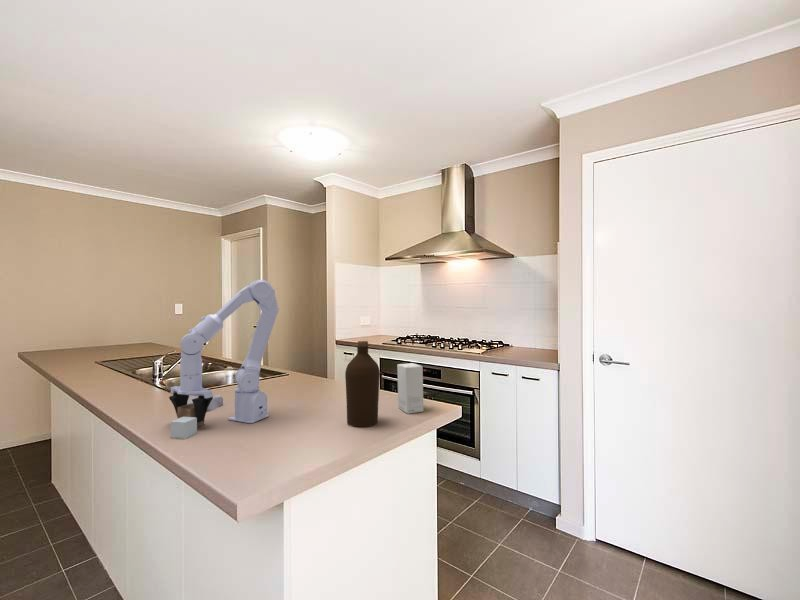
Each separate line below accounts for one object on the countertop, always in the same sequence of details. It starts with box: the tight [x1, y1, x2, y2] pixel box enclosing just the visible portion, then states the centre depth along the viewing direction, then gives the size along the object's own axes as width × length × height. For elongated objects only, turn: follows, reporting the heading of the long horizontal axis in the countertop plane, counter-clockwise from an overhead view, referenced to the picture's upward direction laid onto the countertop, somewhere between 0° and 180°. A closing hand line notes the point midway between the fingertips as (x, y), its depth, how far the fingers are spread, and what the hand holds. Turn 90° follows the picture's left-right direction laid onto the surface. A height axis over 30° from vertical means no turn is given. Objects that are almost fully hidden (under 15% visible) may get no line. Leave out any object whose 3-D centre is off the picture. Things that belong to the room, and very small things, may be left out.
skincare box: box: [396, 362, 424, 415], centre depth 132 cm, size 8×7×16 cm
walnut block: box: [177, 403, 205, 428], centre depth 115 cm, size 5×5×6 cm
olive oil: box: [344, 340, 381, 428], centre depth 119 cm, size 11×11×25 cm
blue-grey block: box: [170, 417, 198, 440], centre depth 107 cm, size 4×4×4 cm
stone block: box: [187, 393, 224, 412], centre depth 134 cm, size 12×5×10 cm
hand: (190, 419), depth 115 cm, fingers open, 7 cm apart
